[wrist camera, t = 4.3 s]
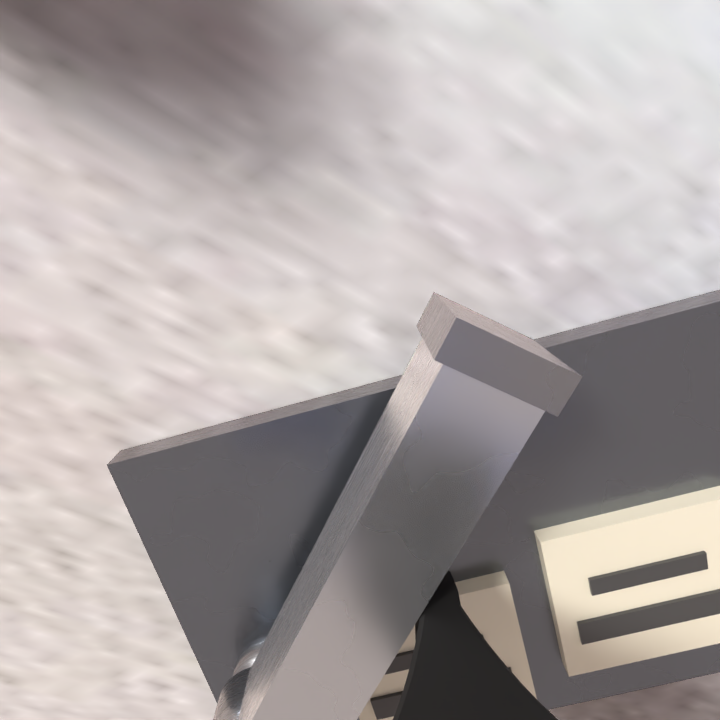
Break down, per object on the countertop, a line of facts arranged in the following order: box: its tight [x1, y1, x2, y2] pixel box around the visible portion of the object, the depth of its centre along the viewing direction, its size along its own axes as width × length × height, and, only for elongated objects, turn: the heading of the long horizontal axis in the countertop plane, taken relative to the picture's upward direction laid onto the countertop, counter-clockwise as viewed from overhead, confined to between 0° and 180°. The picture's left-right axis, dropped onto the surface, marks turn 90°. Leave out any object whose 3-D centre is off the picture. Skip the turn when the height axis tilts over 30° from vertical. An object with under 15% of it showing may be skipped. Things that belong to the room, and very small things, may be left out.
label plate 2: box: [534, 486, 720, 677], centre depth 14 cm, size 5×4×1 cm
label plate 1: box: [359, 571, 537, 720], centre depth 15 cm, size 5×4×1 cm
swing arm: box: [213, 292, 582, 720], centre depth 11 cm, size 13×3×3 cm, turn 155°
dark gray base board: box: [107, 290, 720, 720], centre depth 14 cm, size 18×11×1 cm, turn 106°
